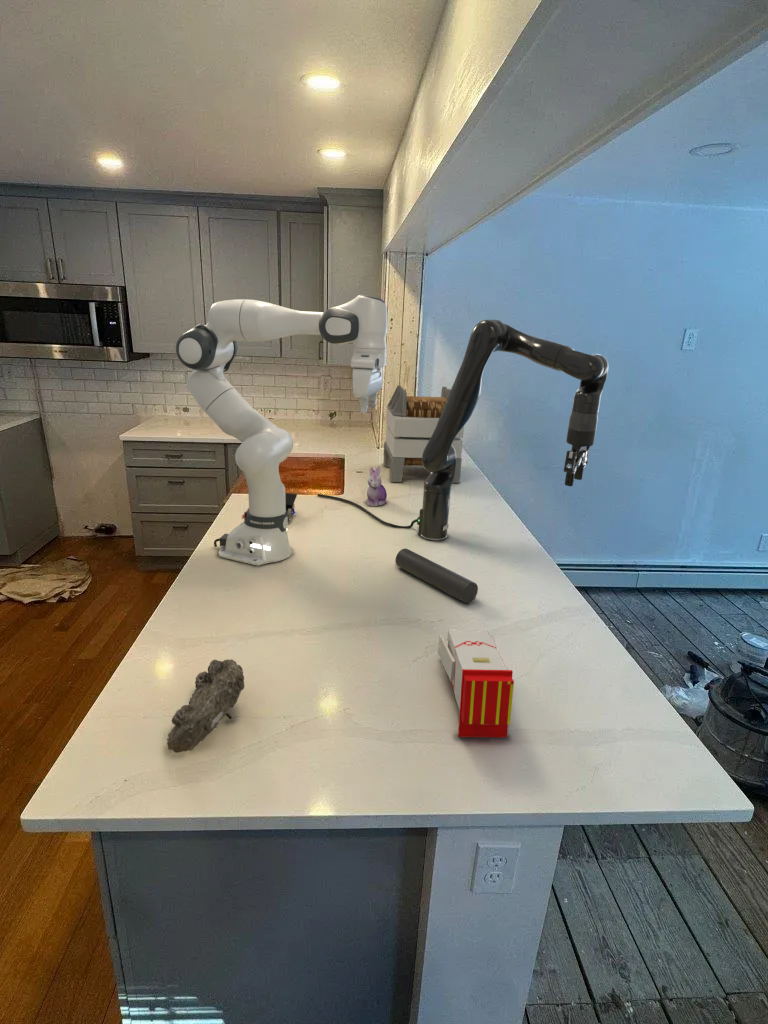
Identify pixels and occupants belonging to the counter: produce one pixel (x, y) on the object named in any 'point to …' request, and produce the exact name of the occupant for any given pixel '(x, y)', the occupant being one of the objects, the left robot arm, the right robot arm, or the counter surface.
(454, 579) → the rod
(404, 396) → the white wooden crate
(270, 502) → the left robot arm
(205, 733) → the fossil
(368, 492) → the figurine
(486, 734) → the toy
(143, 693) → the counter surface
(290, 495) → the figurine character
